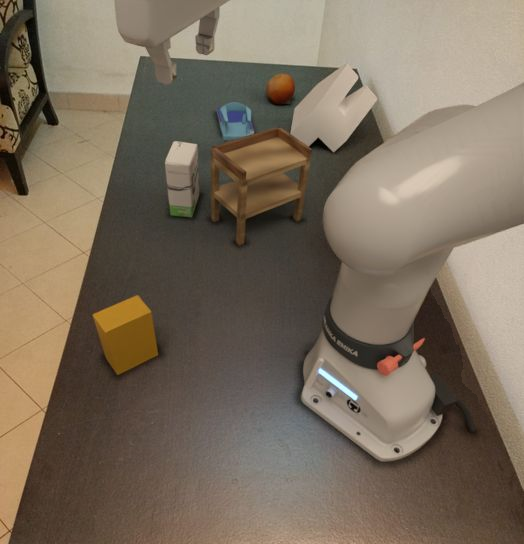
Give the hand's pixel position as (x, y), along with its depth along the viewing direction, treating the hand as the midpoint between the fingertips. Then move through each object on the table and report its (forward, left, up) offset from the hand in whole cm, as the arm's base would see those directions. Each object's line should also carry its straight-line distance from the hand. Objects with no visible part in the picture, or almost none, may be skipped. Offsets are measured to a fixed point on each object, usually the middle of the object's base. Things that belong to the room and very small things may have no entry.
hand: (186, 66), depth 53 cm
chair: (+35, -33, -38) cm, 61 cm away
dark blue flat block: (+49, -43, -38) cm, 75 cm away
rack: (+13, -23, -37) cm, 45 cm away
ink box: (+25, -13, -38) cm, 47 cm away
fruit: (+54, -62, -38) cm, 90 cm away
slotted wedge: (+31, -60, -37) cm, 77 cm away
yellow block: (-5, +15, -37) cm, 41 cm away
